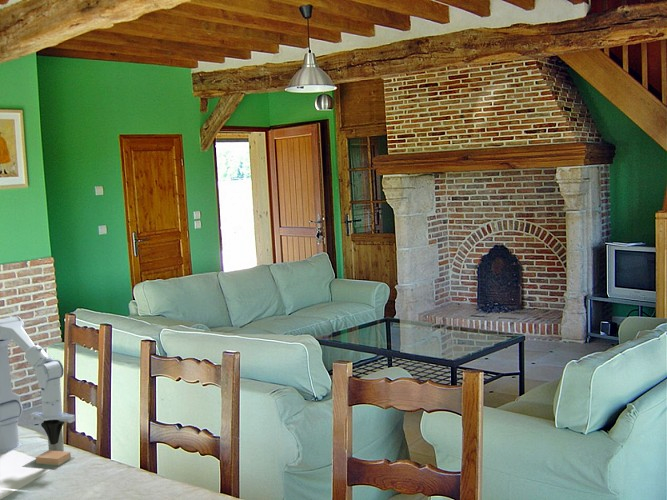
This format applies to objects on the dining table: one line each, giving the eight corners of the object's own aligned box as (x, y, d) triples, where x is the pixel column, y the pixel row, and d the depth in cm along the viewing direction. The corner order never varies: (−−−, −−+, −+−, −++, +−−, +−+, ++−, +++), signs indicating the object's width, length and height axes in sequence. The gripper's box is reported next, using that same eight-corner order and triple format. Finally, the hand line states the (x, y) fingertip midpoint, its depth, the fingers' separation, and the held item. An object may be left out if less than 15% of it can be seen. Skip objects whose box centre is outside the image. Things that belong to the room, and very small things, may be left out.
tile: (35, 456, 228) (57, 459, 226) (48, 450, 234) (70, 452, 232) (36, 464, 228) (58, 466, 226) (49, 457, 234) (70, 459, 232)
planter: (48, 451, 240) (46, 420, 239) (63, 449, 242) (61, 418, 241) (49, 456, 236) (47, 424, 235) (64, 453, 238) (62, 422, 237)
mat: (22, 467, 227) (21, 466, 227) (43, 456, 237) (43, 454, 237) (55, 471, 224) (55, 469, 223) (75, 459, 233) (75, 457, 233)
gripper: (22, 402, 226) (25, 446, 228) (63, 405, 222) (66, 449, 223) (38, 396, 233) (41, 438, 234) (77, 398, 229) (80, 441, 230)
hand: (54, 443), depth 229 cm, fingers closed
